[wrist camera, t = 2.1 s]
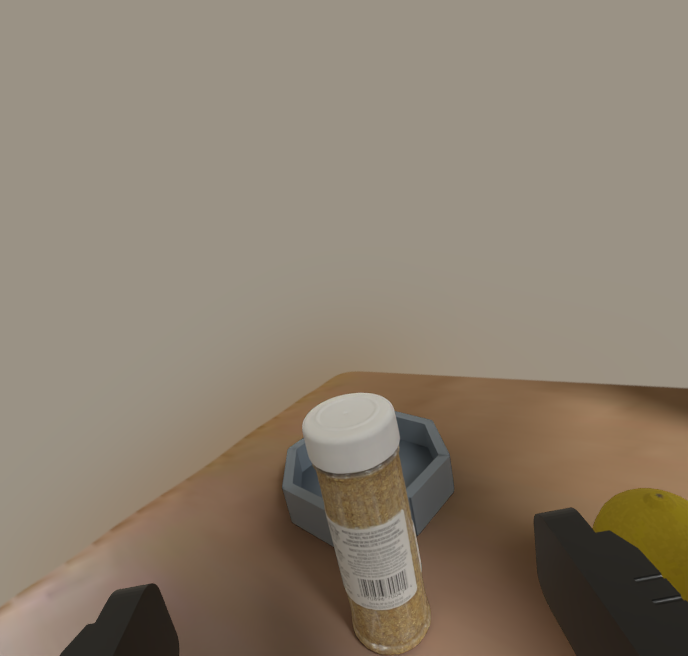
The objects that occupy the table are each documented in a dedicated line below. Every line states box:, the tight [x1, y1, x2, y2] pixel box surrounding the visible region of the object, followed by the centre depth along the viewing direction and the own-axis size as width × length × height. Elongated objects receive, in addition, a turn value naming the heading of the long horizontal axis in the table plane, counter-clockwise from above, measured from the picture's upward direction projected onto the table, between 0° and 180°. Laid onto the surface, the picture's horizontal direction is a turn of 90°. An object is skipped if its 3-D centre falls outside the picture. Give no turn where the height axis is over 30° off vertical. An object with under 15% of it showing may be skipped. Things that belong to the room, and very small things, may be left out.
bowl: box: [282, 411, 454, 547], centre depth 35 cm, size 13×13×3 cm
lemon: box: [592, 488, 688, 602], centre depth 20 cm, size 6×6×8 cm
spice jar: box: [302, 393, 431, 655], centre depth 22 cm, size 5×5×14 cm
